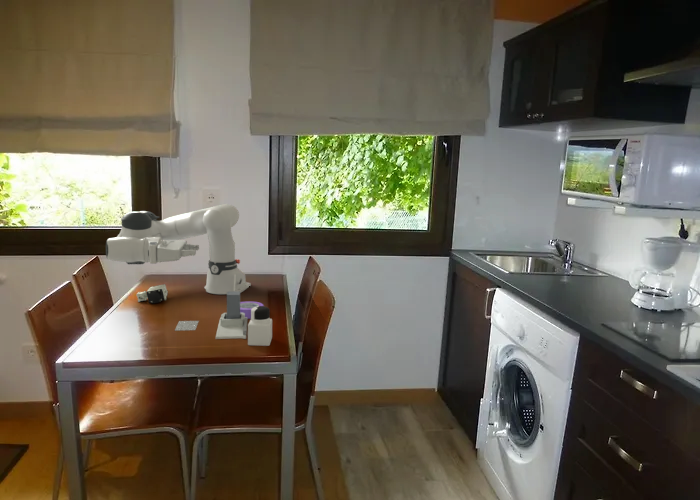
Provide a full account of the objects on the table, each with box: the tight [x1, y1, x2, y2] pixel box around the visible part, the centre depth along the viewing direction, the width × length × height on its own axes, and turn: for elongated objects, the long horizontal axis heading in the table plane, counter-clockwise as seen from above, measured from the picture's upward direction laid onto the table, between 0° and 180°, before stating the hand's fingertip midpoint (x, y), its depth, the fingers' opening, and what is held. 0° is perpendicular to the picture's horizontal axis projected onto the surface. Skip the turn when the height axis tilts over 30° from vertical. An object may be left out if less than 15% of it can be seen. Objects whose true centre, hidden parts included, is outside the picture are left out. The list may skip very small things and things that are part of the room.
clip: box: [226, 291, 241, 319], centre depth 181 cm, size 4×4×11 cm
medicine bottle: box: [247, 305, 273, 347], centre depth 166 cm, size 7×7×12 cm
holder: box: [215, 312, 248, 340], centre depth 177 cm, size 20×10×4 cm, turn 10°
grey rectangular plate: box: [174, 320, 200, 332], centre depth 179 cm, size 10×7×1 cm
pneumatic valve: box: [135, 283, 169, 305], centre depth 207 cm, size 6×12×12 cm
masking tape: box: [240, 301, 264, 320], centre depth 195 cm, size 12×12×4 cm
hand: (197, 250), depth 174 cm, fingers open, 8 cm apart
